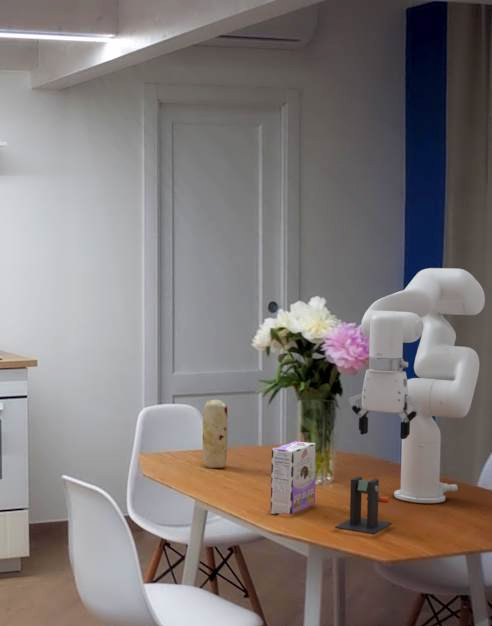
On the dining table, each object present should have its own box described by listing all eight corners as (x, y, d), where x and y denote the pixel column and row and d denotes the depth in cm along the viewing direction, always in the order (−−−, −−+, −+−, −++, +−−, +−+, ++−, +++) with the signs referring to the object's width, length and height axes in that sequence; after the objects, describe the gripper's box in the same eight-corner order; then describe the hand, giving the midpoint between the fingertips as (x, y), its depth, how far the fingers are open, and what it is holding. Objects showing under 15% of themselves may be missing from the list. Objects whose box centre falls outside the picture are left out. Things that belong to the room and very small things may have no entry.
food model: (232, 469, 316) (233, 402, 314) (213, 470, 313) (214, 403, 312) (215, 462, 325) (216, 397, 324) (196, 464, 322) (197, 398, 321)
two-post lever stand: (354, 521, 254) (355, 472, 254) (391, 527, 249) (393, 477, 248) (334, 531, 245) (336, 481, 244) (373, 538, 240) (374, 486, 239)
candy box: (293, 503, 272) (295, 440, 271) (315, 507, 268) (317, 442, 267) (269, 514, 261) (270, 447, 260) (291, 517, 258) (293, 450, 257)
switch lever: (367, 503, 255) (369, 493, 256) (388, 506, 252) (390, 496, 253) (351, 488, 247) (353, 478, 247) (372, 491, 244) (374, 481, 244)
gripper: (427, 366, 252) (425, 437, 253) (355, 361, 263) (354, 430, 264) (417, 369, 246) (415, 442, 247) (344, 363, 257) (342, 434, 258)
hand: (383, 435), depth 256 cm, fingers open, 9 cm apart
